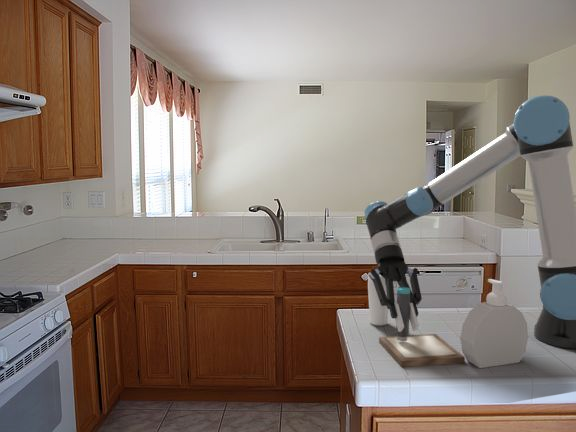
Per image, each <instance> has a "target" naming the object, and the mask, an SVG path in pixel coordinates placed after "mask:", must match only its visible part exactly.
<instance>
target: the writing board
mask: <svg viewBox="0 0 576 432" xmlns="http://www.w3.org/2000/svg"><path fill="white" fill-rule="evenodd" d="M378 344H380V346H382V348H383V349H384V350H385V351H386V352H387V353H388V355H390V356H391V357H392V359H394V361H395V362H396V363H397V364H398V365H399V366H400V367H401V368H407V367H421V366H422V367H423V366H436V365H437V366H439V365H452V364H453V365H454V364H455V365H456V364H465V360H466V358H465V356H464V354H462V353H460V351H458V350H457V349H455V348H454V347H453V346H452V345H450V344H449V343H448V342H447V341H445V340H444V339H443V338H441V337H440V336H439V335H438V334H436V333H431V334H430V333H429V334H411V335H410V334H409V336H407V341H399V340H397V335H391V336H379V337H378Z"/></svg>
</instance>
